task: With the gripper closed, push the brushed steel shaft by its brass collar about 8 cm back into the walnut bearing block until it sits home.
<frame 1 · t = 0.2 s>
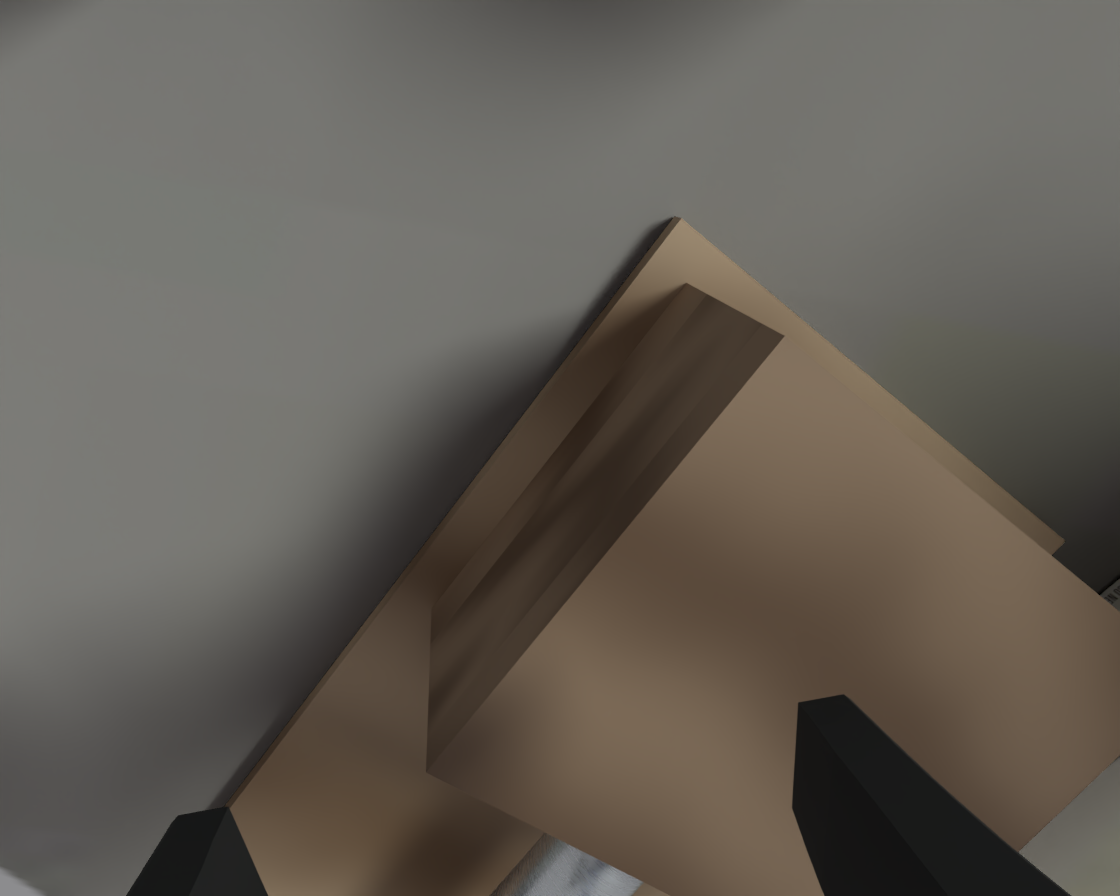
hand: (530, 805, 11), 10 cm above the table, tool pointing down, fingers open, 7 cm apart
bearing block: (612, 701, 23), on the table
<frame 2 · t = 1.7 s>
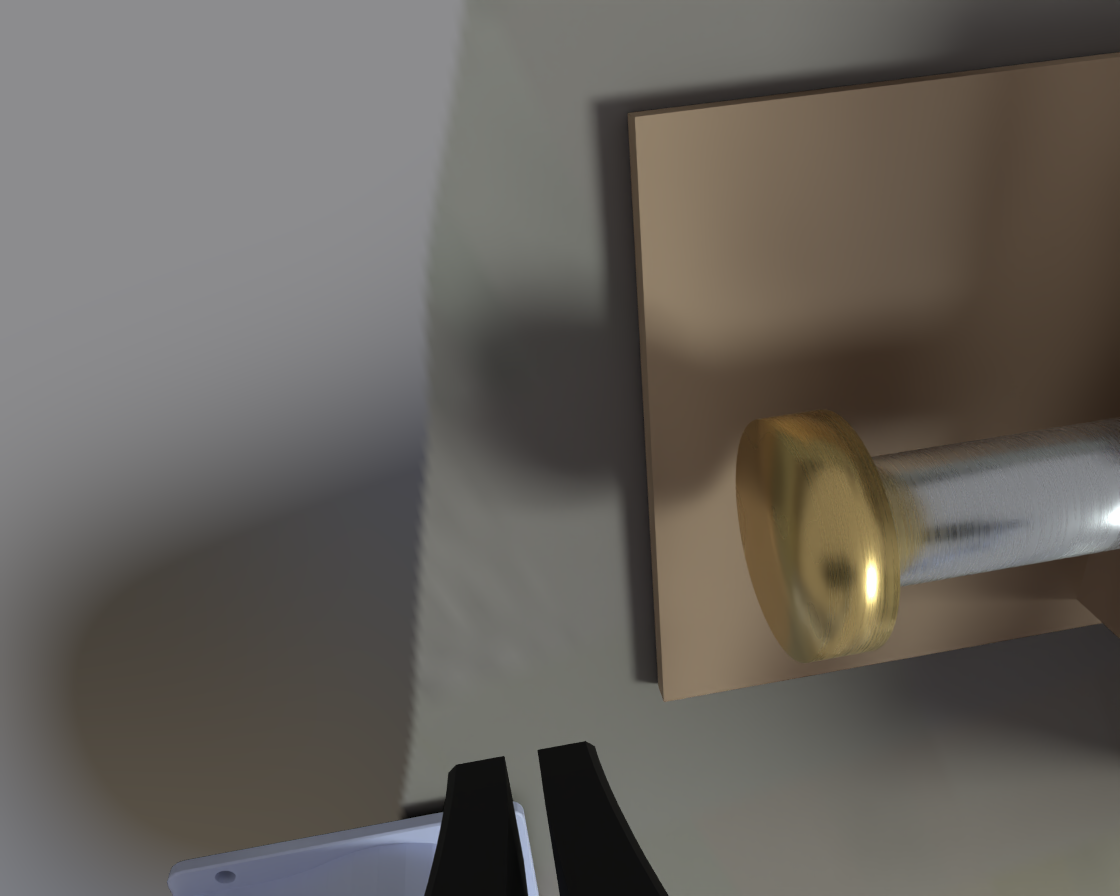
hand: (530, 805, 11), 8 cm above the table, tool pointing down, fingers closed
shaft: (1060, 491, 15), point 4 cm above the table, slide at 8.0 cm
bearing block: (1113, 379, 19), on the table
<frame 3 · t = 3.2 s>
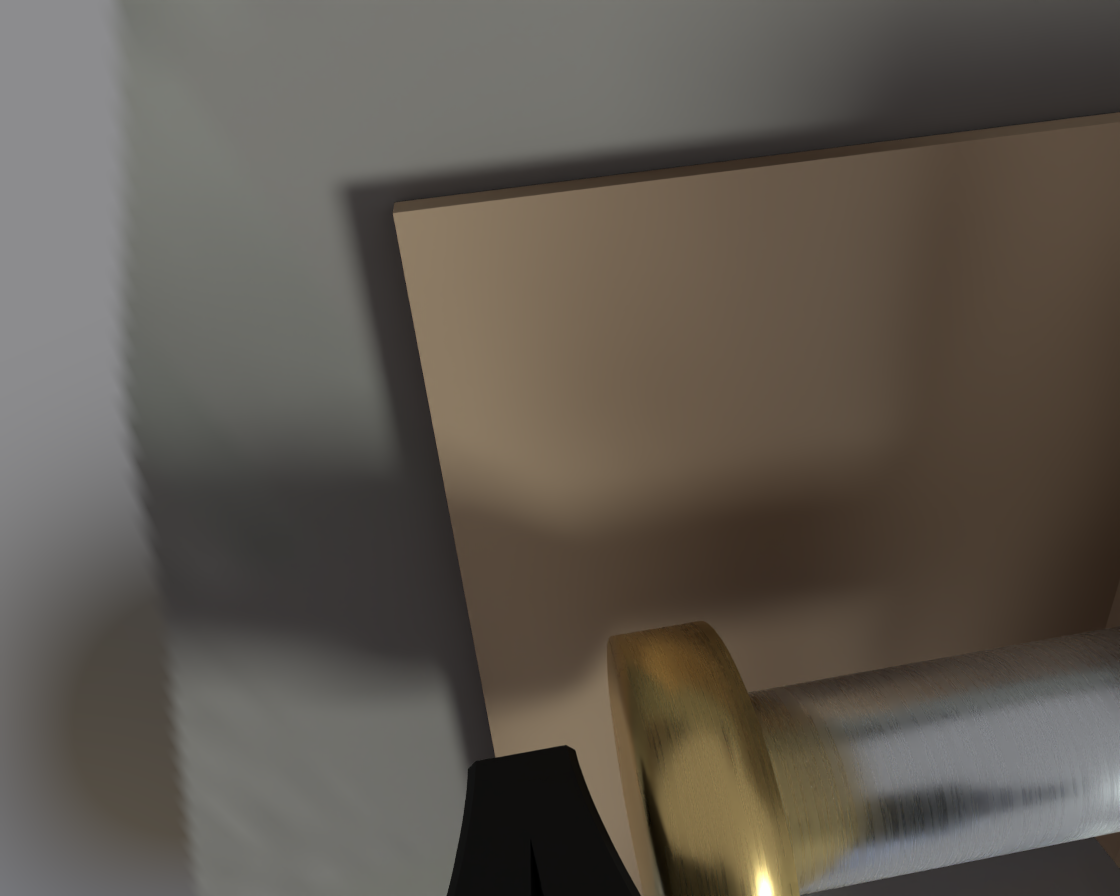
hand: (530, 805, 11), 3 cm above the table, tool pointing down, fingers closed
shaft: (1053, 736, 11), point 4 cm above the table, slide at 7.6 cm, touching gripper
bearing block: (1102, 531, 14), on the table
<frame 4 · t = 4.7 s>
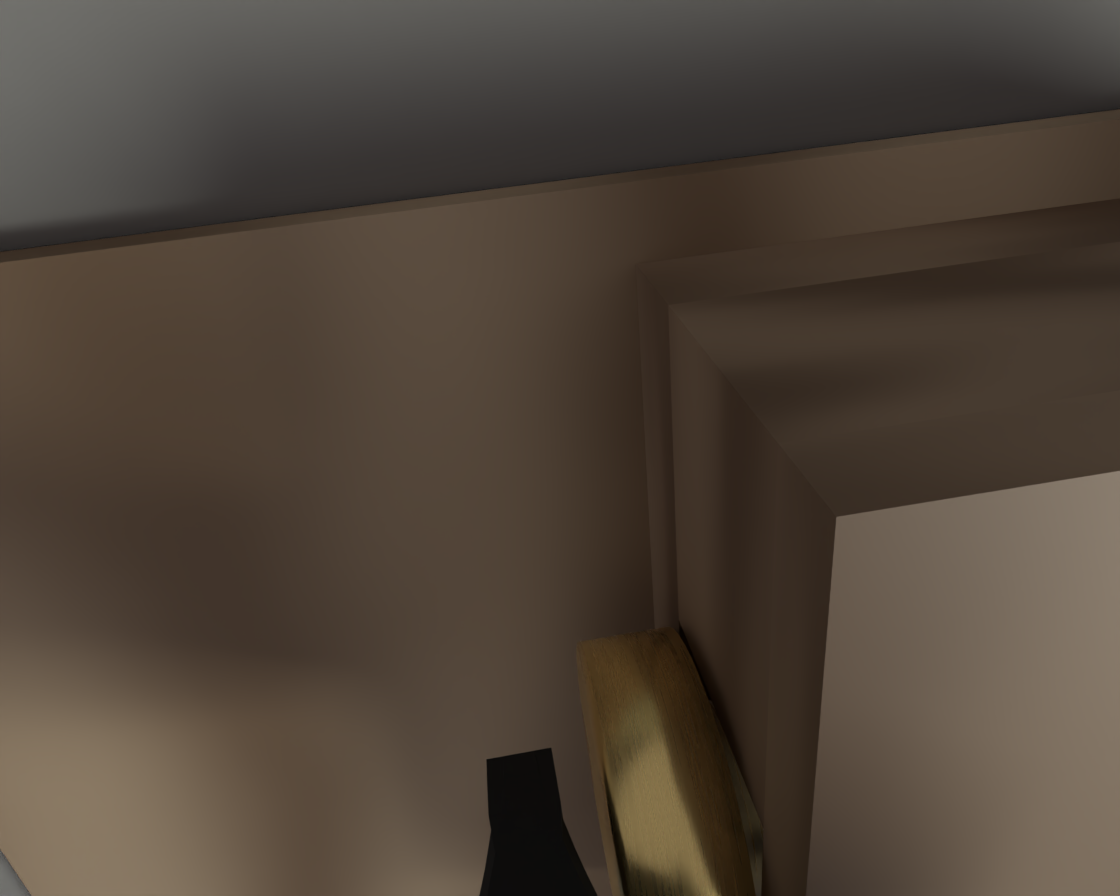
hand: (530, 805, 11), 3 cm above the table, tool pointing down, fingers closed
shaft: (1024, 742, 11), point 4 cm above the table, slide at -0.1 cm, touching gripper
bearing block: (646, 607, 14), on the table
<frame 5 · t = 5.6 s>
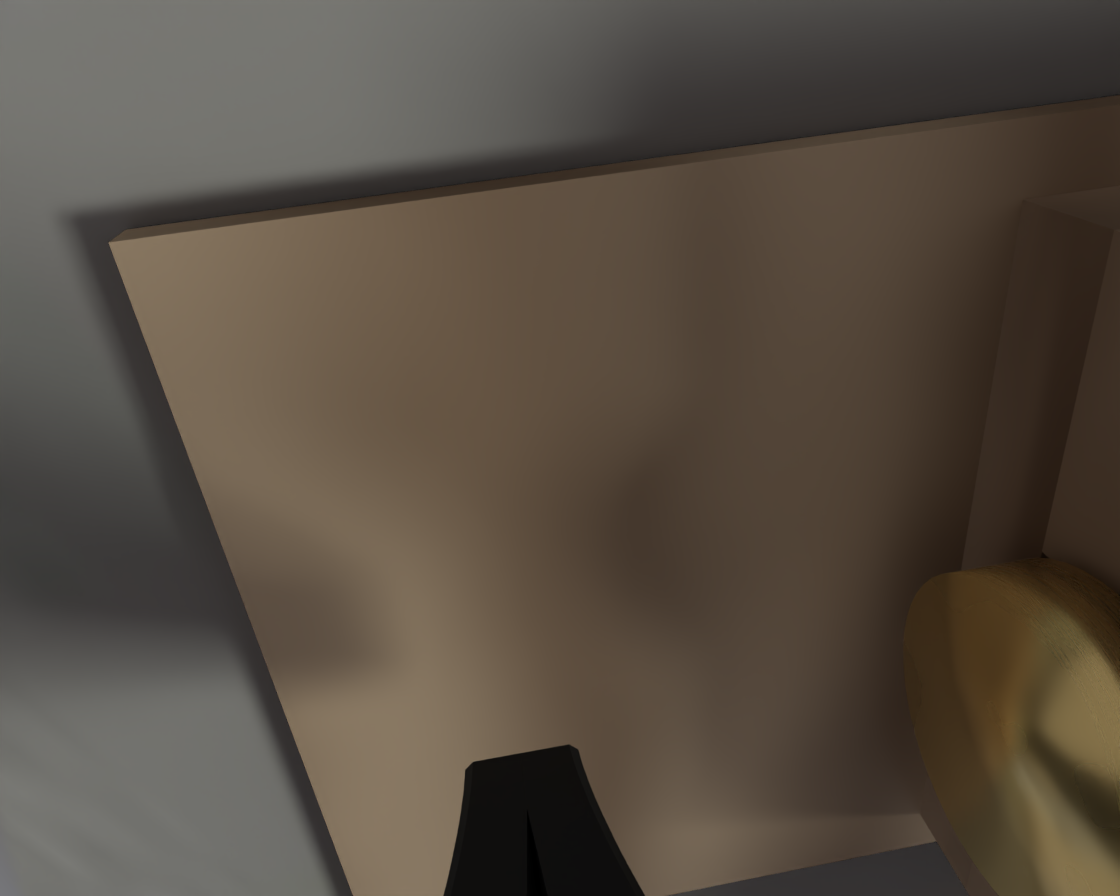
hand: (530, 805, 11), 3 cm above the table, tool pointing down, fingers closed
bearing block: (940, 552, 14), on the table
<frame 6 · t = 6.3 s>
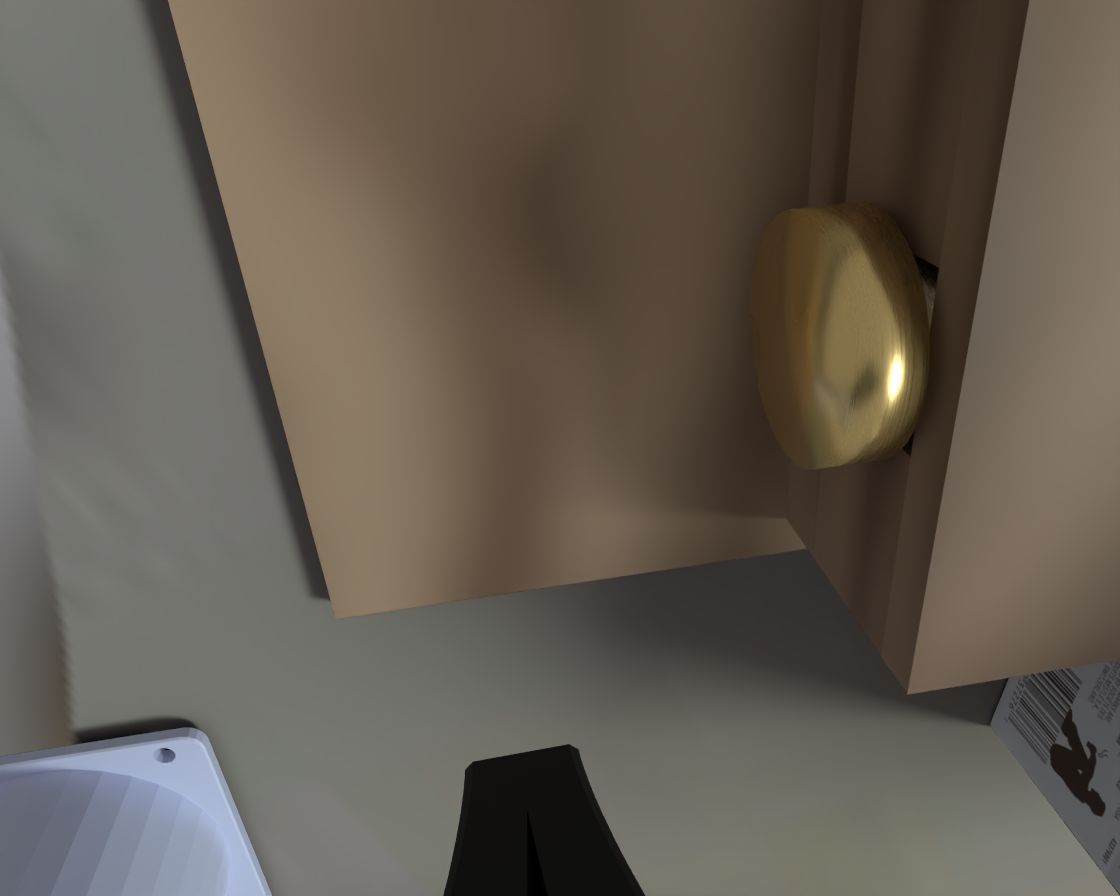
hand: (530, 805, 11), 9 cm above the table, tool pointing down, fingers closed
shaft: (1093, 304, 15), point 4 cm above the table, slide at 0.0 cm
bearing block: (791, 269, 18), on the table
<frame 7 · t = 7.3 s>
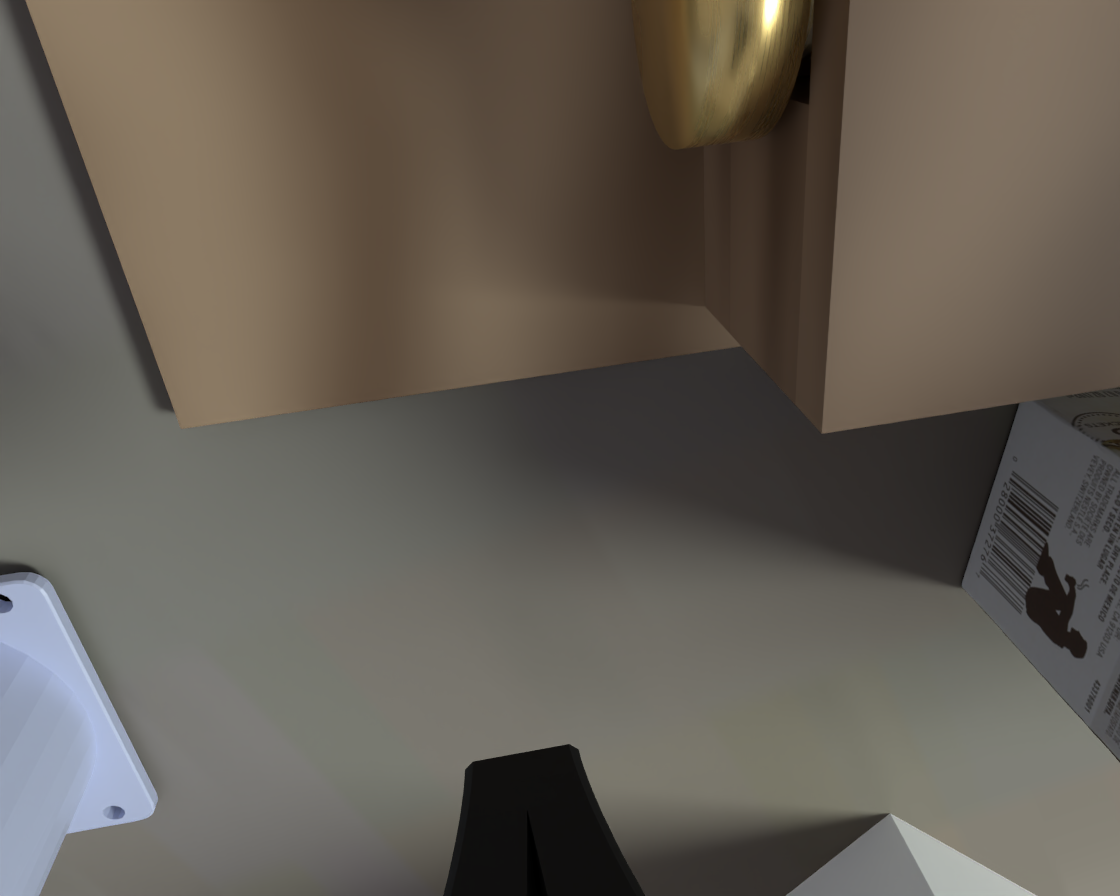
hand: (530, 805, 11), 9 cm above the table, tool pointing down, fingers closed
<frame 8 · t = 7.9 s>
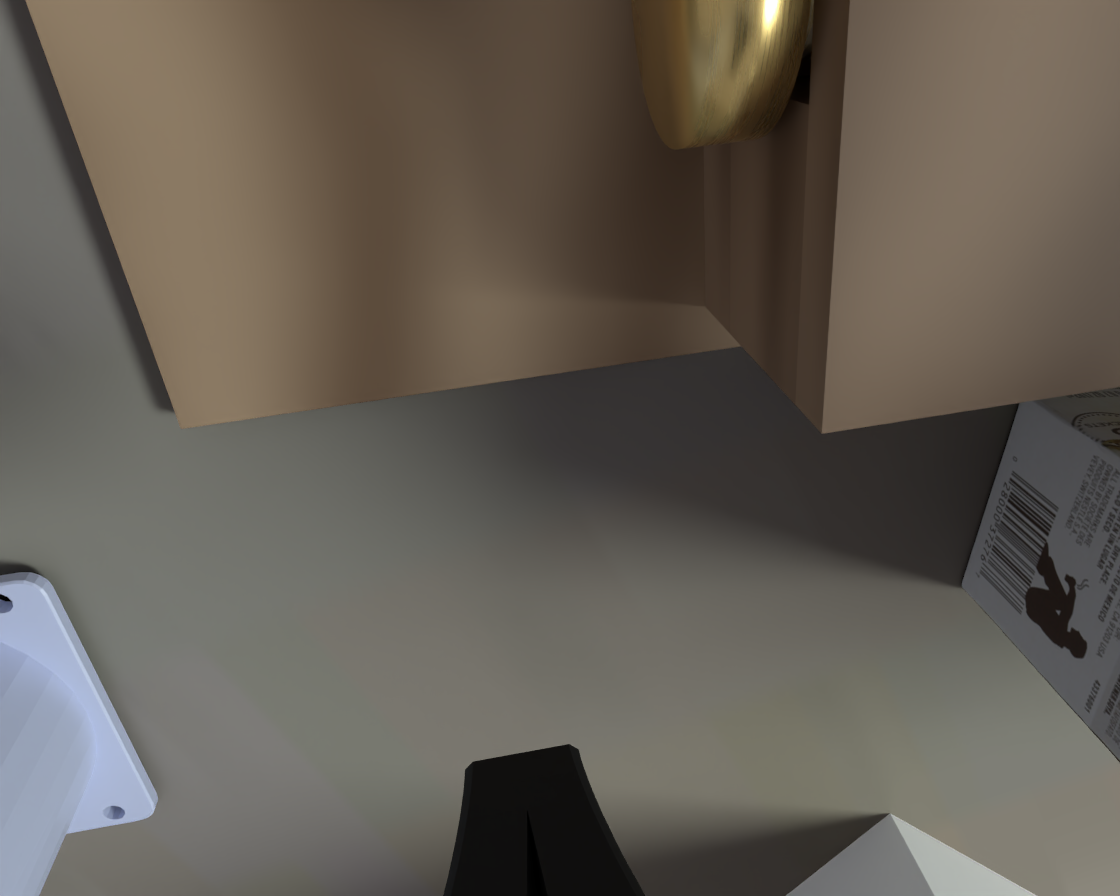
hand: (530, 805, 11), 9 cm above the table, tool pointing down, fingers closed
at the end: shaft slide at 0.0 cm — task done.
